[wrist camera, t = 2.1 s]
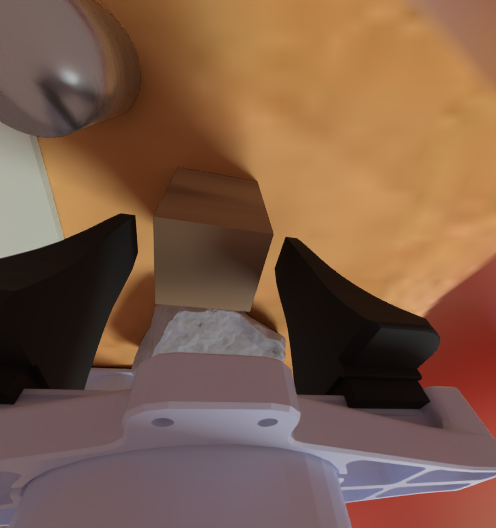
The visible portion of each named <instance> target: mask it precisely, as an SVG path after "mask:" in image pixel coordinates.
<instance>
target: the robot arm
mask: <svg viewBox="0 0 496 528" xmlns="http://www.w3.org/2000/svg"><path fill="white" fill-rule="evenodd" d="M137 254H138V246H137V232H136V218H135V215H129V214H122V213H121V214H118V215H116V216H114V217H111V218H109V219H107V220H105V221H103V222H101V223H99V224H97V225H95V226H93V227H91V228H89V229H87V230H85V231H83V232H80V233H78V234H76V235H73V236H71V237H69V238H66V239H64V240H61V241H59V242H56V243H53V244H50V245H47V246H44V247H41V248H38V249H34V250H31V251H27V252H23V253H19V254H15V255H12V256H8V257H4V258H0V528H352V526H351V523H350V519H349V516H348V512H347V508H346V505H345V503H348V502H356V501H364V500H371V499H379V498H386V497H395V496H402V495H411V494H421V493H431V492H443V491H457V490H461V489H463V488H466V487H469V486H472V485H475V484H478V483H480V482H483V481H486V480H489V479H492V478H494V477H496V440H495V439H494V438H493V436H492V435H491V434H490V432H489V431H488V430H487V428H486V427H485V425H484V424H483V423H482V421H481V420H480V419H479V417H478V416H477V415H476V413H475V412H474V410H473V409H472V408H471V406H470V405H469V404H468V402H467V401H466V400H465V398H464V397H463V396H462V394H461V393H460V392H459V390H458V389H457V388H455V387H436V386H435V387H434V386H432V387H427V388H424V389H423V388H422V387H421V385H420V384H419V382H418V380H421V379H422V376H421V374H420V373H419V371H418V370H417V368H418V367H419V366H420V365H422V364H423V363H424V362H425V361H426V360H427V359H428V358H429V357H430V356H431V355H433V353H434V352H435V351H436V350H437V348H438V346H439V344H440V336H439V335H438V333H437V332H436V331H435V329H434V328H433V327H432V326H431V325H430V323H429V322H428V321H427V320H426V319H425V318H422V317H420V316H417V315H415V314H412V313H410V312H407V311H405V310H402V309H400V308H398V307H395V306H393V305H391V304H389V303H387V302H385V301H383V300H381V299H379V298H377V297H375V296H373V295H371V294H370V293H368V292H366V291H364V290H363V289H361V288H359V287H358V286H356V285H354V284H353V283H351V282H350V281H348V280H347V279H345V278H344V277H343V276H341V275H340V274H338V273H337V272H336V271H335V270H333V269H332V268H331V267H330V266H328V265H327V264H326V263H325V262H324V261H322V260H321V259H320V258H319V257H318V256H317V255H316V254H315V253H313V252H312V251H311V250H310V249H309V248H308V247H307V246H306V245H305V244H303V243H302V242H301V241H300V240H298V239H297V238H290V237H285V240H284V243H283V246H282V249H281V252H280V255H279V258H278V261H277V264H276V266H275V275H276V284H277V288H278V292H279V296H280V300H281V303H282V307H283V311H284V315H285V318H286V323H287V327H288V334H289V341H290V349H291V357H292V366H293V376H292V372H291V369H290V368H289V367H288V366H287V365H285V364H284V363H283V362H282V361H280V360H278V359H273V358H269V357H264V356H246V355H226V354H206V353H186V352H173V353H163V354H157V355H155V356H153V357H151V358H149V359H147V360H145V361H143V362H141V363H140V364H139V367H138V369H137V371H136V374H135V377H134V376H133V374H132V370H131V369H115V368H91V366H92V363H93V360H94V357H95V354H96V351H97V348H98V345H99V342H100V339H101V337H102V334H103V331H104V328H105V326H106V323H107V320H108V317H109V315H110V313H111V310H112V308H113V306H114V304H115V302H116V300H117V298H118V296H119V294H120V292H121V291H122V289H123V287H124V285H125V283H126V281H127V279H128V277H129V275H130V273H131V271H132V269H133V266H134V263H135V260H136V257H137ZM293 377H294V381H293Z"/></svg>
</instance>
